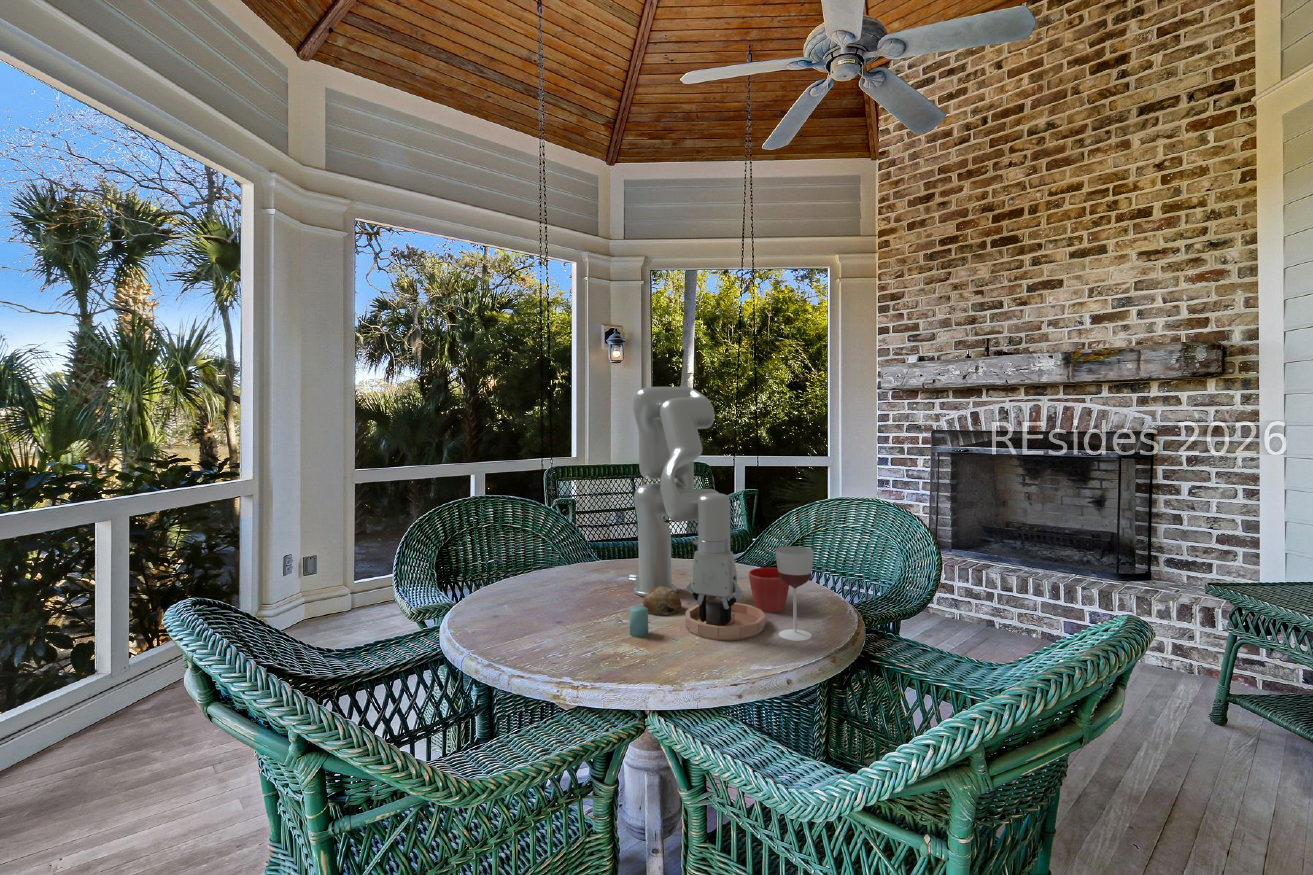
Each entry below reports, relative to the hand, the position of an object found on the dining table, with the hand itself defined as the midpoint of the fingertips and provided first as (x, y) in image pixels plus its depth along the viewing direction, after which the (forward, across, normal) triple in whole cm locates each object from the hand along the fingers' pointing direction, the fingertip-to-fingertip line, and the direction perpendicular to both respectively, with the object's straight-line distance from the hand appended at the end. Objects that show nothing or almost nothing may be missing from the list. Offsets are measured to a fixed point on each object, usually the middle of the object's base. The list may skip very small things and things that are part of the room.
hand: (715, 621), depth 154 cm
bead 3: (+1, 0, 0) cm, 1 cm away
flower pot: (+3, +5, +24) cm, 24 cm away
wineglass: (+3, +17, +8) cm, 19 cm away
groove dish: (+3, 0, +6) cm, 6 cm away
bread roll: (+3, -20, +10) cm, 23 cm away
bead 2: (+2, -5, +6) cm, 8 cm away
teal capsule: (+3, -16, -9) cm, 18 cm away
